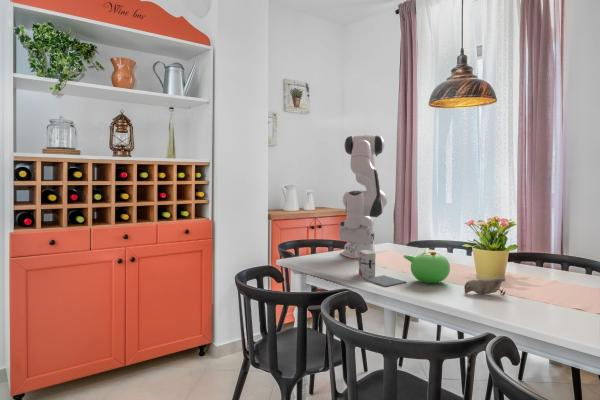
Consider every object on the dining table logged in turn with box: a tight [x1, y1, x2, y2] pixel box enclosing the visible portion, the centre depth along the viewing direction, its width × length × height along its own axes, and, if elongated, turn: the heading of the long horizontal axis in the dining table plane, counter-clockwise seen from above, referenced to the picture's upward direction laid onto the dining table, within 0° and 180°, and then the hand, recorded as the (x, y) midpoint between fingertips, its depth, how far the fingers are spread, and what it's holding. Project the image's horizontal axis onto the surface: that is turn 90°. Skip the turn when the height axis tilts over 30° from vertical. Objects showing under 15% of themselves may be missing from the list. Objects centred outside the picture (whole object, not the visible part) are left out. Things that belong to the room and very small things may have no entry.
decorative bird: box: [463, 277, 507, 296], centre depth 175 cm, size 5×16×8 cm, turn 83°
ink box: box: [358, 250, 376, 279], centre depth 204 cm, size 8×5×12 cm, turn 17°
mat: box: [363, 275, 407, 288], centre depth 194 cm, size 14×13×1 cm
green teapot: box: [403, 248, 451, 284], centre depth 193 cm, size 18×17×15 cm
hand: (354, 251), depth 211 cm, fingers closed
